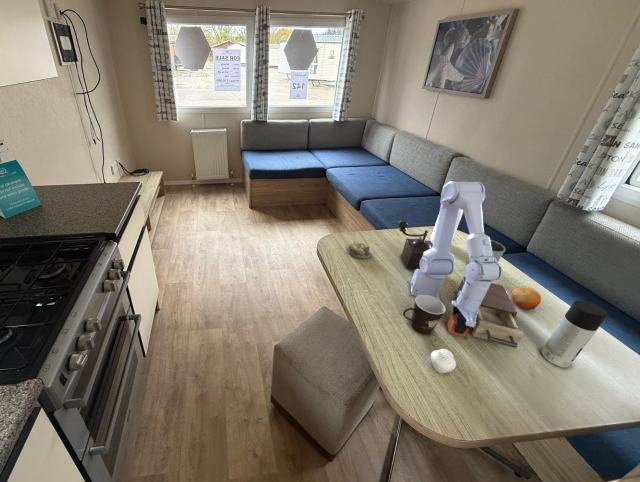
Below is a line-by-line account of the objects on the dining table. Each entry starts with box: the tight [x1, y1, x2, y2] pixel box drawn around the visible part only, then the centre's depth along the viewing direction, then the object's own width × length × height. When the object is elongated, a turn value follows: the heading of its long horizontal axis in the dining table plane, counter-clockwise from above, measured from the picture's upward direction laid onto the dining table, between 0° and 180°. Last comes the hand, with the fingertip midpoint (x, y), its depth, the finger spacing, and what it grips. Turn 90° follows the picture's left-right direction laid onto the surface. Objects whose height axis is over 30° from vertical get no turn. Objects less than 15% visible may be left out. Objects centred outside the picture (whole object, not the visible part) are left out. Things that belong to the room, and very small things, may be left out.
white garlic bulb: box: [430, 348, 457, 374], centre depth 86 cm, size 6×6×7 cm
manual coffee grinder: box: [397, 219, 433, 271], centre depth 129 cm, size 16×11×18 cm
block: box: [446, 313, 469, 338], centre depth 99 cm, size 4×4×4 cm
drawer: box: [471, 306, 525, 349], centre depth 98 cm, size 18×11×6 cm, turn 159°
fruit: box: [510, 286, 542, 311], centre depth 110 cm, size 8×8×8 cm
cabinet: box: [456, 276, 519, 320], centre depth 107 cm, size 15×13×8 cm
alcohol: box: [430, 208, 464, 244], centre depth 142 cm, size 9×9×30 cm
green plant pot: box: [468, 239, 506, 264], centre depth 128 cm, size 10×10×12 cm
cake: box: [347, 241, 372, 259], centre depth 138 cm, size 10×10×5 cm
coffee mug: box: [402, 295, 447, 336], centre depth 99 cm, size 12×9×10 cm
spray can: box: [541, 299, 608, 368], centre depth 87 cm, size 7×7×20 cm
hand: (457, 326), depth 100 cm, fingers closed on block, 4 cm apart
